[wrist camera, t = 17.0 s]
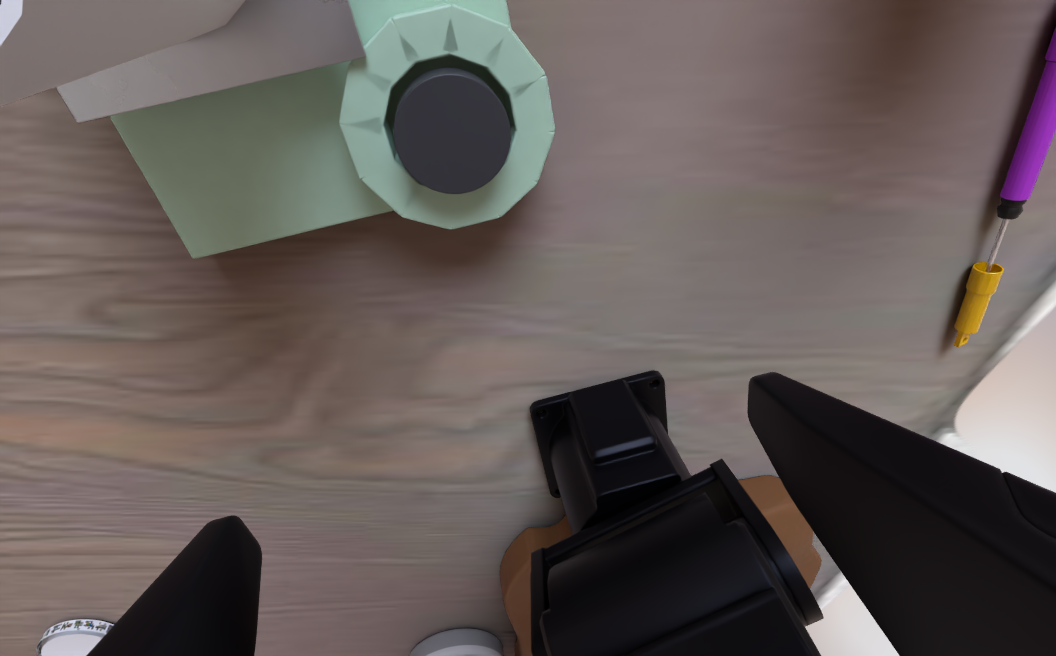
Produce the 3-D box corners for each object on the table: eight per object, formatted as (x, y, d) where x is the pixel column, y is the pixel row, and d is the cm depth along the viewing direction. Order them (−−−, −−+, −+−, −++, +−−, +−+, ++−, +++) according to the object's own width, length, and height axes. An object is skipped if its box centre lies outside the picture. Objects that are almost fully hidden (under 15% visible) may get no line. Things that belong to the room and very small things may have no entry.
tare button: (513, 166, 17) (521, 180, 16) (414, 190, 17) (413, 206, 16) (490, 55, 15) (497, 60, 14) (380, 81, 15) (376, 88, 14)
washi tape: (24, 632, 28) (16, 644, 27) (103, 611, 28) (97, 623, 27) (73, 670, 30) (67, 682, 29) (146, 650, 30) (142, 662, 30)
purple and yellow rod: (1065, -21, 19) (940, 342, 28) (1106, -23, 18) (964, 353, 27) (1111, -32, 20) (976, 325, 29) (1153, -35, 19) (1000, 336, 28)
